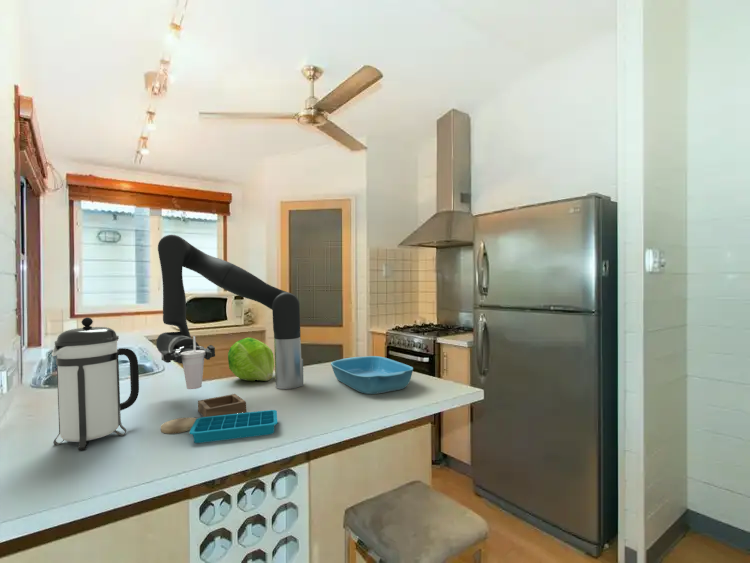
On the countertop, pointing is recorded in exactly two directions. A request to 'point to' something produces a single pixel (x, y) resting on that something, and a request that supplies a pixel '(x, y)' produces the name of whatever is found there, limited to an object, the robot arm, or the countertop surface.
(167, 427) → the trivet
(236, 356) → the lettuce
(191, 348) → the robot arm
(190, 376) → the smoothie
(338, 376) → the casserole dish
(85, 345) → the coffee press
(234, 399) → the square wooden frame
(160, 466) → the countertop surface
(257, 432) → the ice cube tray
